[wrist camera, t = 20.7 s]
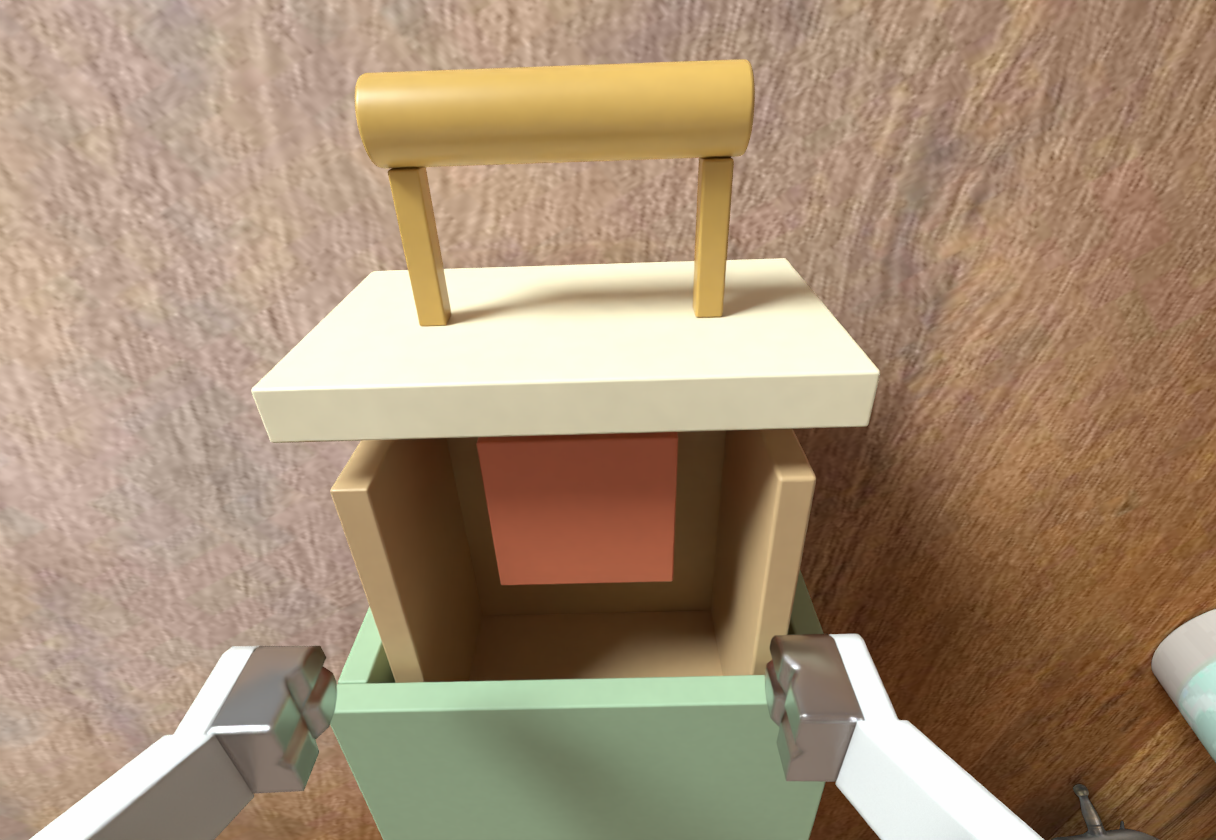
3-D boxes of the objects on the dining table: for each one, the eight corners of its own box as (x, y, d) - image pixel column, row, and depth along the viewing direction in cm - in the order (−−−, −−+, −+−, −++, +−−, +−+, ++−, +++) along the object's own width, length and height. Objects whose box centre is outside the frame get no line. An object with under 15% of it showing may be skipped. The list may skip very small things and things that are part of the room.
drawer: (323, 69, 14) (130, 87, 8) (812, 52, 14) (954, 57, 8) (452, 607, 24) (403, 787, 18) (744, 600, 24) (788, 780, 18)
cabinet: (417, 489, 22) (323, 712, 15) (768, 480, 22) (850, 701, 14) (476, 727, 30) (433, 951, 22) (735, 721, 29) (778, 945, 22)
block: (504, 354, 17) (475, 443, 13) (662, 350, 17) (678, 437, 13) (521, 481, 19) (500, 586, 16) (660, 477, 19) (673, 582, 15)
